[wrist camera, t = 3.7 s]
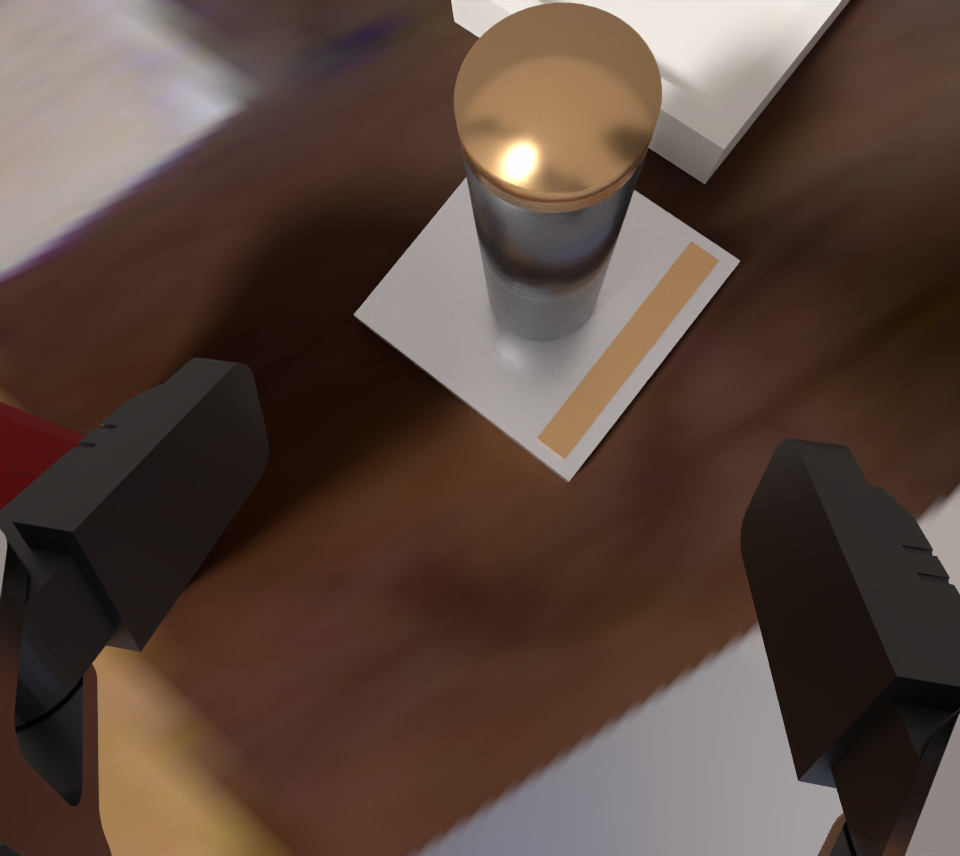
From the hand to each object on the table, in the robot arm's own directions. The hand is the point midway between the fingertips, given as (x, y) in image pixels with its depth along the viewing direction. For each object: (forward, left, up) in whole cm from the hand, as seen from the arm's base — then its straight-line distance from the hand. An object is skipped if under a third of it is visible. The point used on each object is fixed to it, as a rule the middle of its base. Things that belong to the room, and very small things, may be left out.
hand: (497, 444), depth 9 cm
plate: (-3, +6, -12) cm, 14 cm away
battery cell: (-3, +6, -11) cm, 13 cm away
